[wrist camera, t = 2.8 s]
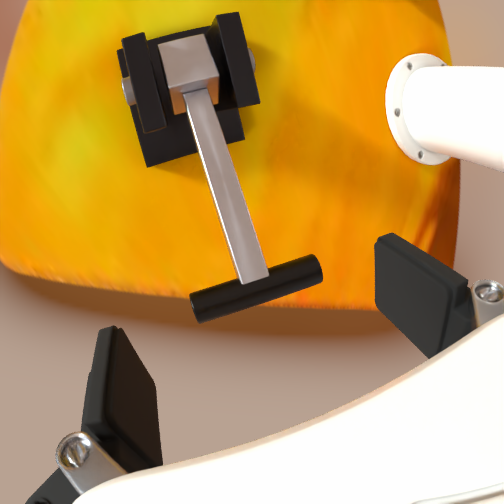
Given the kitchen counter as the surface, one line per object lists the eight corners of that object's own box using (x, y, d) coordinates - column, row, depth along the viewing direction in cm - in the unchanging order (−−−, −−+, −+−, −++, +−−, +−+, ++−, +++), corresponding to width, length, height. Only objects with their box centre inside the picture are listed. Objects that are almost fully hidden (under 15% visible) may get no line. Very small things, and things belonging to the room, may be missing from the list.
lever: (312, 282, 14) (332, 282, 11) (200, 319, 13) (197, 328, 10) (230, 57, 14) (234, 27, 12) (136, 81, 13) (126, 53, 11)
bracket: (242, 138, 25) (305, 157, 14) (148, 165, 24) (129, 208, 13) (215, 28, 21) (258, -41, 9) (118, 53, 19) (77, -1, 8)
